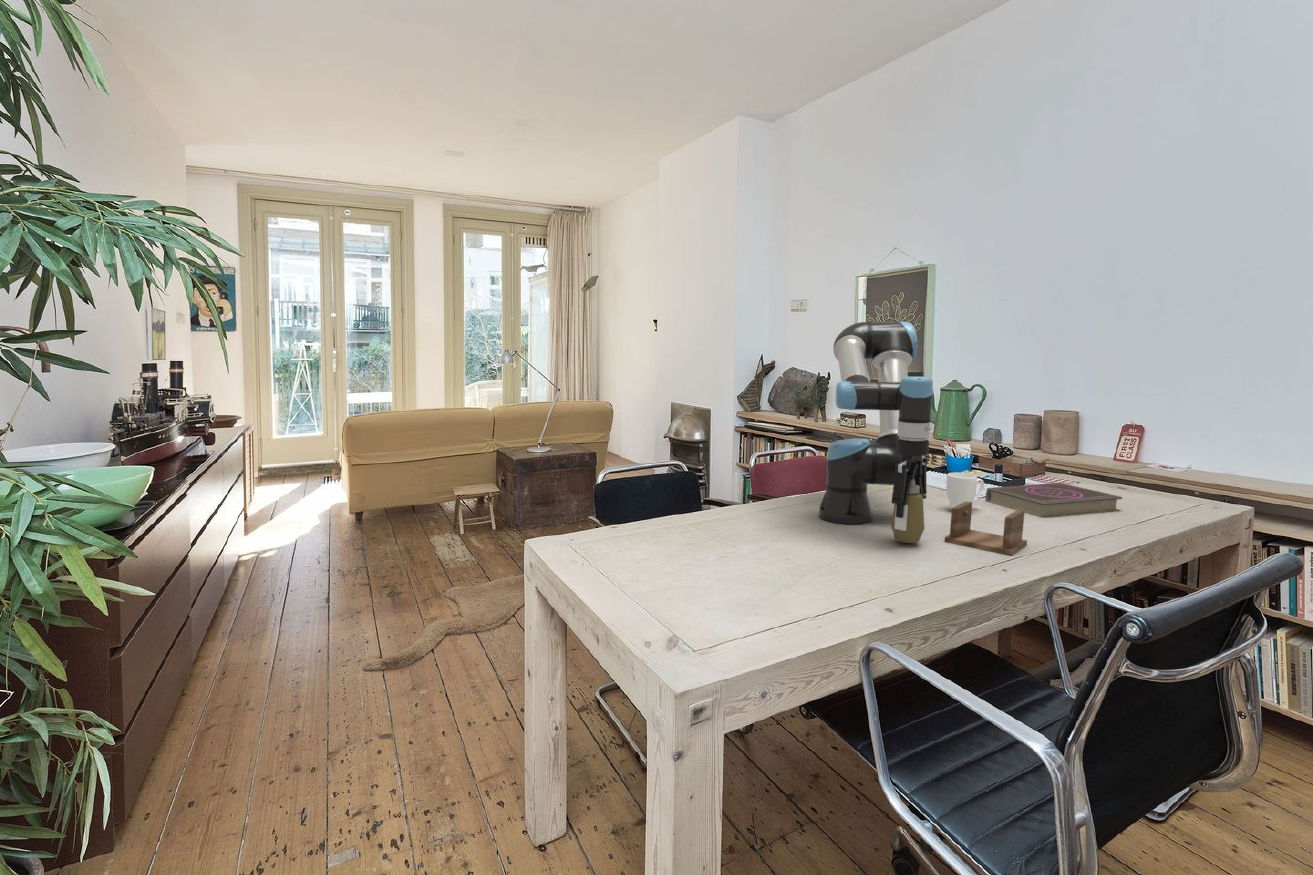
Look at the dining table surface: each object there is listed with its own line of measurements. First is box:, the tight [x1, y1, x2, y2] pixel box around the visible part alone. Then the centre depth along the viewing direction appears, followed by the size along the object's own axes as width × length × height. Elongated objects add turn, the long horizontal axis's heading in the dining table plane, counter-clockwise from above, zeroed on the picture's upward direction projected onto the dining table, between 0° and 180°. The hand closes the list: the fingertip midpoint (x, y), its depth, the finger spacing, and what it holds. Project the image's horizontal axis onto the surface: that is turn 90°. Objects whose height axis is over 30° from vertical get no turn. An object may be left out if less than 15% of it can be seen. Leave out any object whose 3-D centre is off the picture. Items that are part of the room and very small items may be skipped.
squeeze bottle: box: [890, 479, 925, 544], centre depth 163 cm, size 8×8×18 cm
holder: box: [944, 501, 1028, 556], centre depth 164 cm, size 16×12×9 cm
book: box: [985, 482, 1123, 519], centre depth 204 cm, size 30×22×5 cm
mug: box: [946, 472, 985, 510], centre depth 196 cm, size 12×8×11 cm
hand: (907, 525), depth 163 cm, fingers closed on squeeze bottle, 8 cm apart
